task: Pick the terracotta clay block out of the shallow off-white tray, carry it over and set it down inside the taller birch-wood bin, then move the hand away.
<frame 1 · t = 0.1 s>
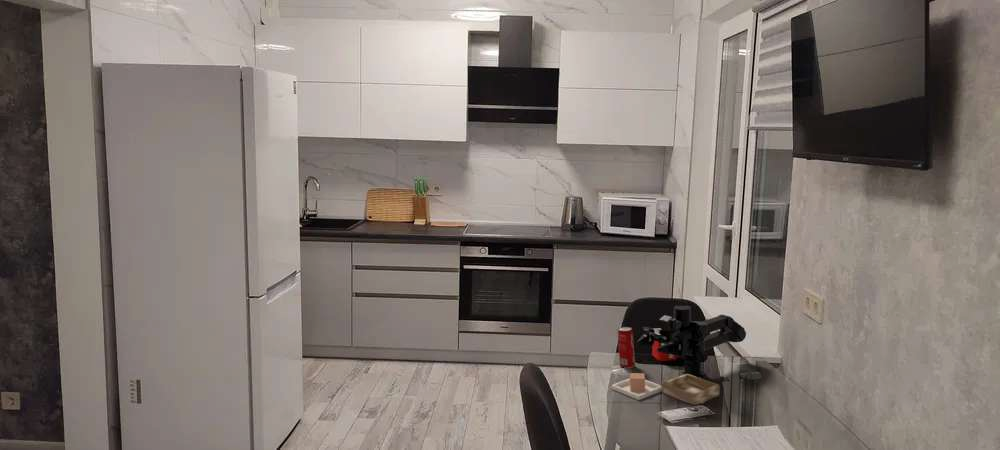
hand: (647, 346, 235), 17 cm above the table, tool horizontal, fingers open, 9 cm apart
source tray: (637, 391, 239), on the table
beverage can: (626, 366, 263), on the table
wooden bin: (690, 395, 235), on the table
clay block: (637, 389, 239), point 1 cm above the table, touching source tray
mug: (668, 357, 272), on the table
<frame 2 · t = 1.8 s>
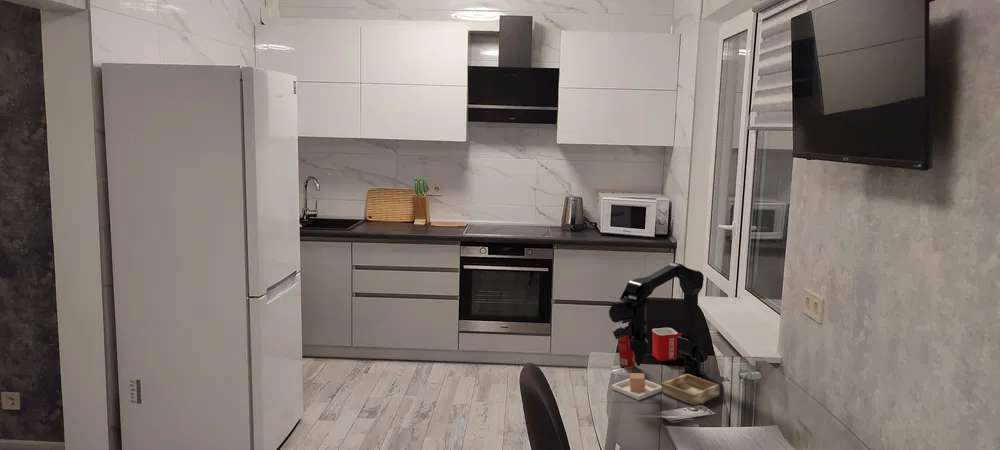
hand: (637, 360, 238), 11 cm above the table, tool pointing down, fingers open, 9 cm apart
nothing on the table moved.
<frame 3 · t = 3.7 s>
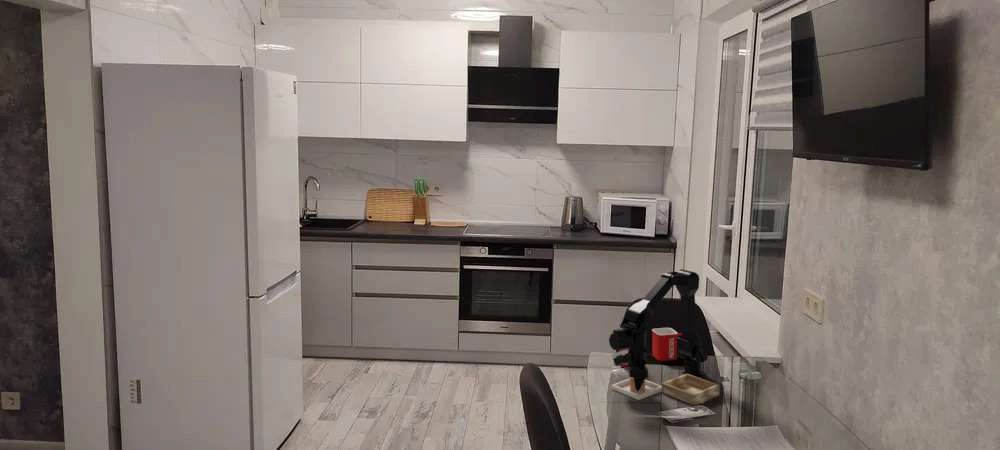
hand: (637, 387, 239), 1 cm above the table, tool pointing down, fingers closed on clay block, 5 cm apart
clay block: (637, 389, 239), point 1 cm above the table, touching gripper, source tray
everything else where it was.
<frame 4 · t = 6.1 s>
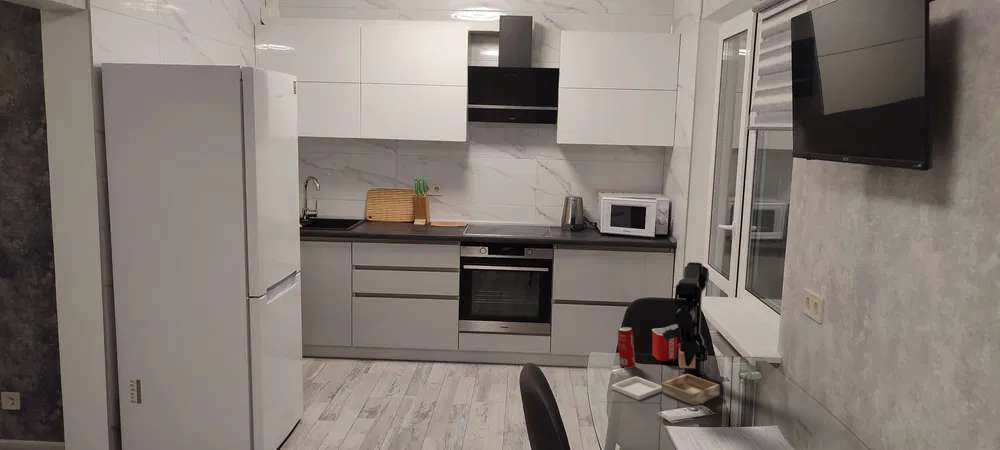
hand: (687, 363, 233), 11 cm above the table, tool pointing down, fingers closed on clay block, 5 cm apart
clay block: (686, 365, 233), point 11 cm above the table, touching gripper
everything else where it was.
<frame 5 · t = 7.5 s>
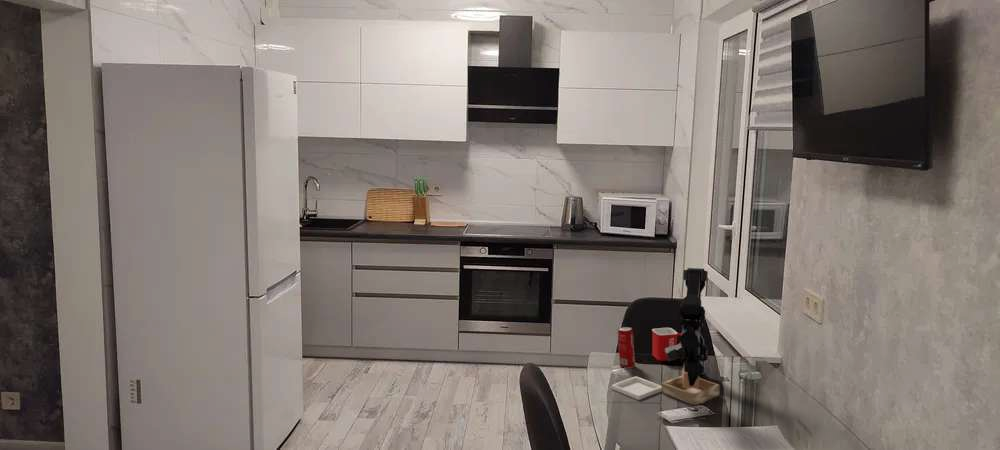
hand: (690, 382, 234), 4 cm above the table, tool pointing down, fingers closed on clay block, 5 cm apart
clay block: (690, 384, 234), point 4 cm above the table, touching gripper
everything else where it was.
when the fingers open (3 cm above the table, at t = 8.6 s): clay block drops 2 cm, resting on wooden bin.
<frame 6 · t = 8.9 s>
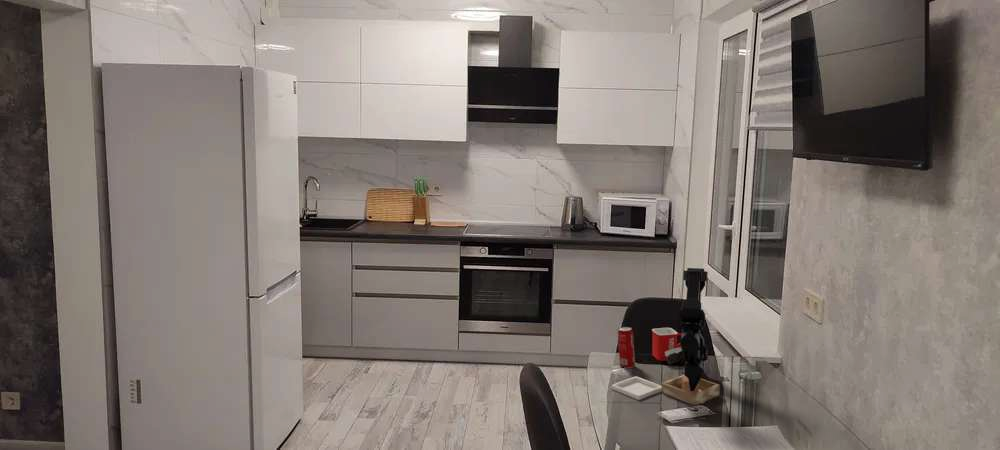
hand: (690, 385, 234), 3 cm above the table, tool pointing down, fingers open, 9 cm apart
clay block: (690, 392, 235), point 1 cm above the table, touching wooden bin
everything else where it was.
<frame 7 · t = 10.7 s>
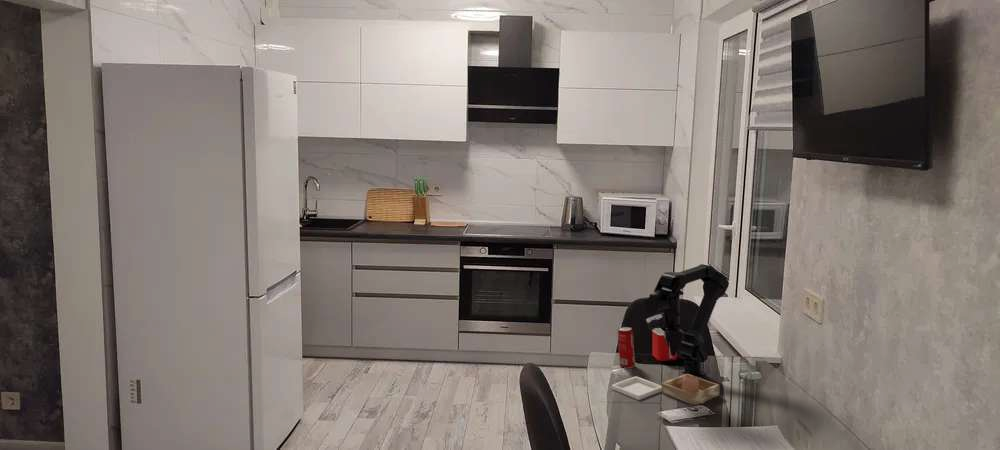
hand: (670, 351, 244), 12 cm above the table, tool pointing down, fingers open, 9 cm apart
nothing on the table moved.
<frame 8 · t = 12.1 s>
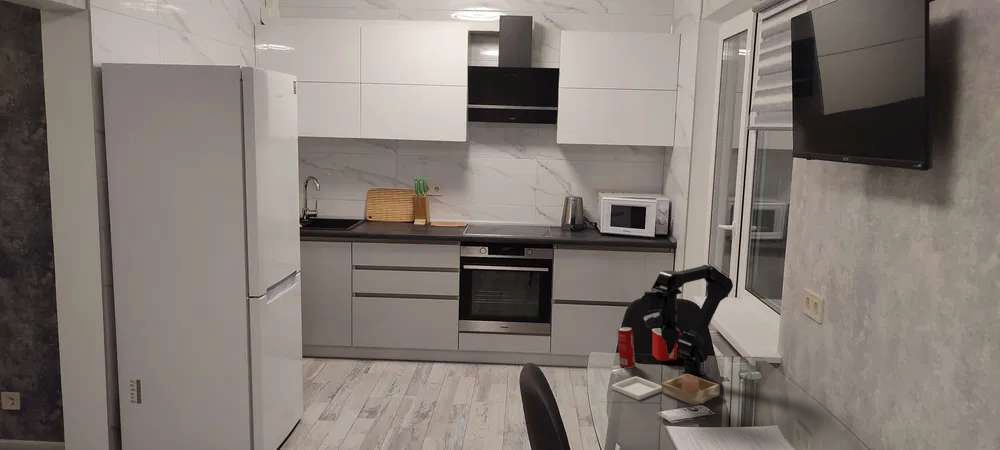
hand: (668, 349, 245), 12 cm above the table, tool pointing down, fingers open, 9 cm apart
nothing on the table moved.
at the end: clay block inside the target area on the wooden bin (0.0 cm from its centre), point 0.8 cm above the wooden bin's base; clay block tilted 0°; the gripper is holding nothing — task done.
